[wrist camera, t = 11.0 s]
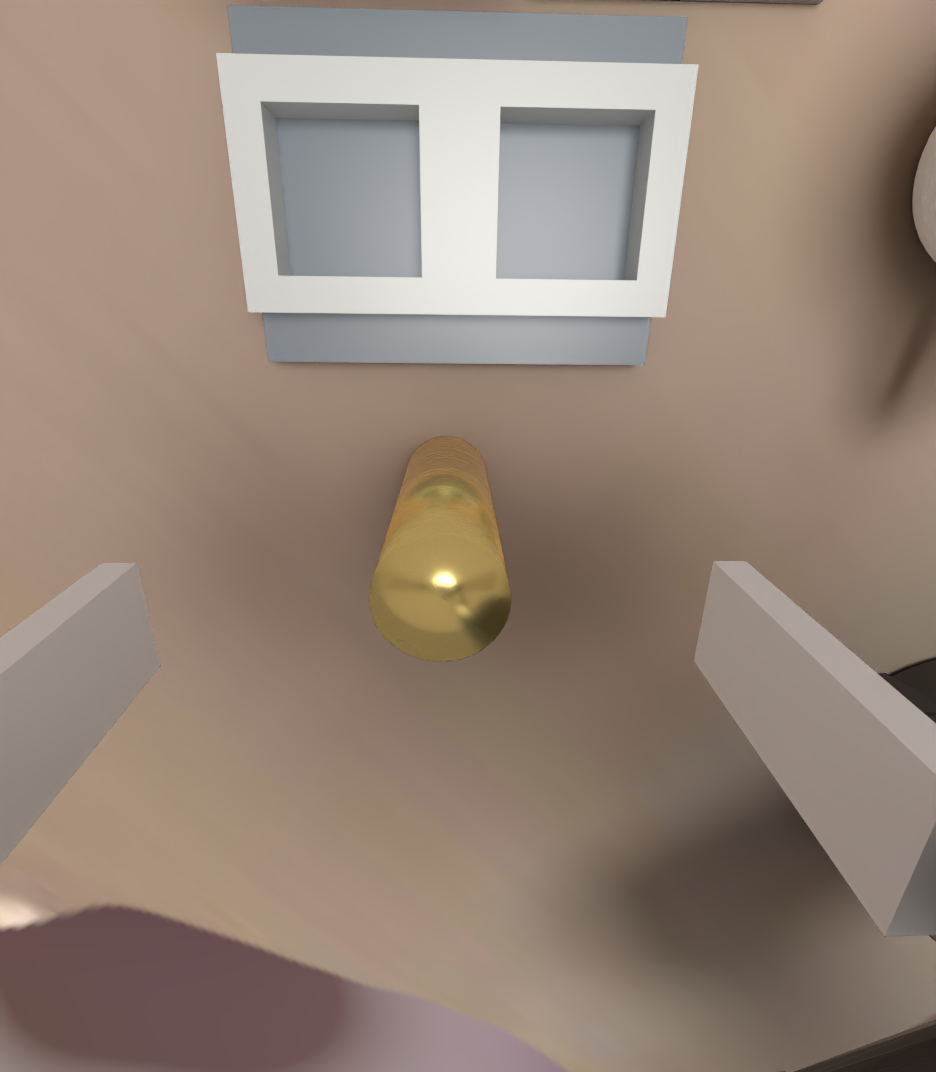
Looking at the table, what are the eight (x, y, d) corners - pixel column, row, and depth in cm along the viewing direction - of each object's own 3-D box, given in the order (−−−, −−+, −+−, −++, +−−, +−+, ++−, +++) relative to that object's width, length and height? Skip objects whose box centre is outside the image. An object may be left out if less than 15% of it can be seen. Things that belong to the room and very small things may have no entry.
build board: (634, 362, 24) (658, 368, 21) (278, 359, 23) (254, 364, 21) (672, 36, 20) (708, -10, 17) (242, 26, 19) (206, -23, 17)
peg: (485, 513, 26) (508, 661, 15) (407, 513, 26) (373, 661, 15) (487, 436, 25) (513, 536, 14) (405, 436, 25) (365, 535, 14)
